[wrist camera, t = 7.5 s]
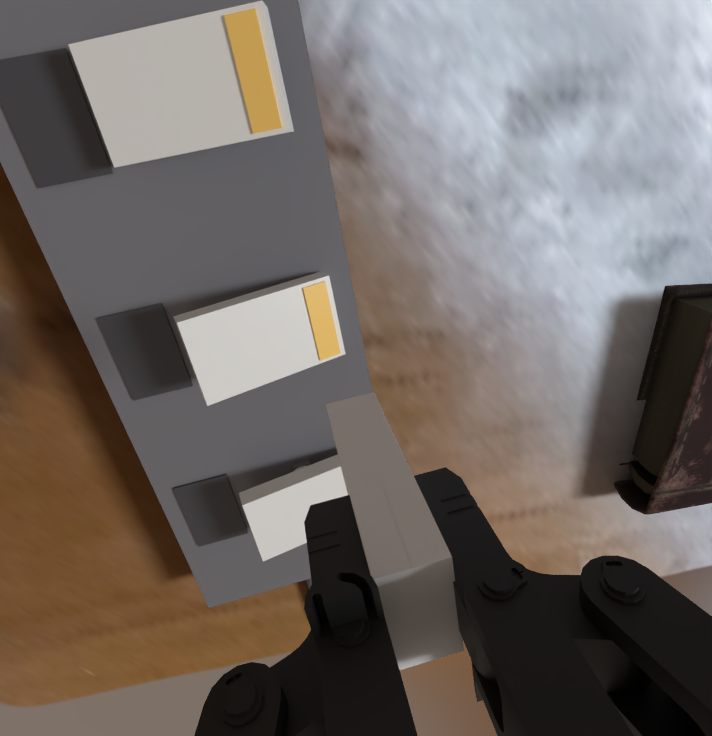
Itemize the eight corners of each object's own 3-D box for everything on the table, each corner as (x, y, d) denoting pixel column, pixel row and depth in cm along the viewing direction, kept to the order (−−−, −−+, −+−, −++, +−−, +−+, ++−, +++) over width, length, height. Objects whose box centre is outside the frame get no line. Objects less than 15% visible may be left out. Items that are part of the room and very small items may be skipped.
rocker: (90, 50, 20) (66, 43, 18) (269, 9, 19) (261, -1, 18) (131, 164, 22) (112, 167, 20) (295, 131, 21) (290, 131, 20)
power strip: (-71, -77, 20) (-139, -123, 16) (263, -126, 21) (265, -180, 18) (244, 640, 40) (243, 687, 37) (405, 593, 42) (418, 633, 38)
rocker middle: (172, 313, 23) (177, 323, 22) (316, 270, 26) (329, 275, 24) (201, 393, 25) (207, 406, 24) (332, 344, 28) (346, 354, 26)
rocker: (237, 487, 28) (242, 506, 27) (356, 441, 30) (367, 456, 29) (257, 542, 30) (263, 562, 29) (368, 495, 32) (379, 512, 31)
